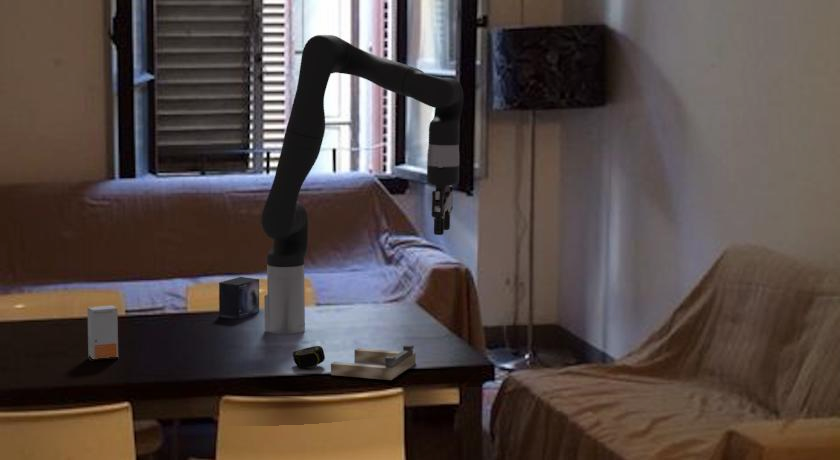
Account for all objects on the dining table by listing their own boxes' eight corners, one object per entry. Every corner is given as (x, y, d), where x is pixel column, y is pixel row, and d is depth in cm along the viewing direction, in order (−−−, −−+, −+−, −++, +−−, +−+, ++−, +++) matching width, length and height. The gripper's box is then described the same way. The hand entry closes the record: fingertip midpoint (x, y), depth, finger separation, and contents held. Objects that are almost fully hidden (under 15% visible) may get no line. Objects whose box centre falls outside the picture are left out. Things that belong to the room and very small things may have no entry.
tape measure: (324, 357, 293) (320, 342, 292) (327, 365, 286) (323, 349, 285) (295, 365, 292) (291, 350, 291) (297, 374, 285) (293, 358, 284)
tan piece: (330, 374, 282) (330, 354, 282) (357, 358, 297) (357, 339, 297) (391, 380, 278) (391, 359, 277) (415, 363, 293) (415, 344, 292)
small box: (239, 324, 336) (238, 284, 334) (217, 321, 338) (217, 282, 337) (261, 316, 345) (260, 278, 344) (240, 314, 348) (239, 276, 346)
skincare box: (92, 362, 293) (91, 310, 292) (88, 358, 297) (86, 307, 296) (119, 359, 296) (117, 307, 295) (114, 355, 300) (113, 304, 298)
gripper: (432, 160, 311) (431, 227, 313) (421, 165, 297) (420, 235, 299) (463, 161, 310) (462, 228, 312) (454, 166, 296) (452, 237, 298)
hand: (441, 232), depth 306 cm, fingers open, 8 cm apart
